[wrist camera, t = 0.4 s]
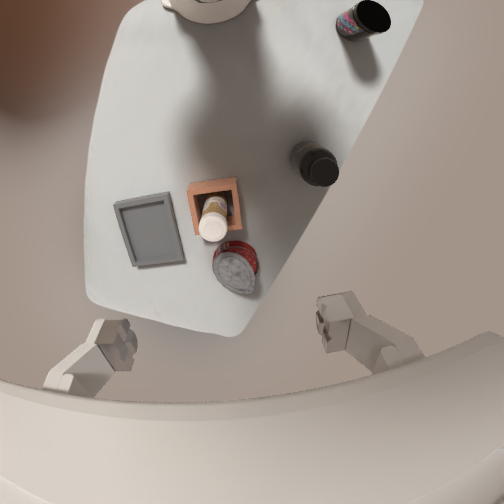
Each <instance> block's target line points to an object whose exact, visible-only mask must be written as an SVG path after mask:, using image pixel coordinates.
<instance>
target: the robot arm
mask: <svg viewBox="0 0 504 504" xmlns="http://www.w3.org/2000/svg"><path fill="white" fill-rule="evenodd" d="M250 1H251V0H162V1H161V2H162V5H163V6H164V7H166V8H170V9H173V10H176V11H177V12H178V13H179V14H181V15H182V16H183V17H185V18H186V19H188V20H190V21H193V22H197V23H205V24H211V23H219V22H223V21H226V20H229V19H231V18H233V17H235V16H237V15H238V14H239V13H241V12H242V11H243V10H244V9H245V8H246V6H247V5H248V4H249V2H250ZM317 307H318V311H317V312H316V324H317V329H318V332H319V334H320V335H322V343H323V346H324V349H325V352H326V353H331V352H336V351H341V350H346V352H348V353H349V354H350V355H351V356H353V357H354V358H355V359H356V360H358V361H359V362H360V363H361V364H363V365H364V366H365V367H366V368H368V369H369V370H370V371H371V372H373V373H372V375H370V376H366V377H363V378H359V379H355V380H351V381H347V382H343V383H339V384H334V385H330V386H325V387H320V388H315V389H310V390H305V391H299V392H293V393H287V394H281V395H273V396H266V397H258V398H249V399H239V400H227V401H211V402H178V403H169V402H168V403H167V402H135V401H119V400H107V399H98V398H94V397H95V396H96V394H97V393H98V392H99V391H100V390H101V388H102V387H103V386H104V385H105V384H106V382H107V381H108V380H109V379H110V378H111V376H112V375H113V374H114V373H115V371H131V369H132V365H133V362H134V359H133V357H132V356H133V354H135V353H136V351H137V338H136V335H135V333H134V332H133V331H132V330H131V329H129V327H130V323H129V321H128V320H127V319H125V318H116V319H115V318H113V319H112V318H111V319H97V320H96V321H95V323H94V325H93V327H92V329H91V331H90V333H89V335H88V338H87V340H86V342H85V344H81V345H80V346H79V347H78V348H77V349H75V350H74V351H73V352H72V353H70V354H69V355H68V356H67V357H66V358H64V359H63V360H62V361H61V362H60V363H58V364H57V365H56V366H55V367H54V368H52V369H51V370H50V371H49V373H48V376H47V378H46V380H45V383H44V385H43V387H42V389H37V388H32V387H28V386H24V385H20V384H16V383H12V382H8V381H5V380H2V379H0V504H504V337H503V336H501V335H499V334H496V333H494V332H491V331H487V332H484V333H481V334H479V335H477V336H475V337H473V338H471V339H469V340H467V341H464V342H462V343H460V344H458V345H455V346H453V347H451V348H448V349H446V350H444V351H441V352H439V353H436V354H434V355H431V356H428V357H426V358H425V356H424V355H423V353H422V351H421V349H420V348H419V346H418V345H417V343H416V341H415V340H414V338H413V337H411V336H409V335H407V334H405V333H403V332H401V331H399V330H398V329H396V328H394V327H392V326H390V325H388V324H386V323H385V322H383V321H381V320H379V319H377V318H375V317H373V316H371V315H366V313H365V311H364V310H363V308H362V306H361V304H360V303H359V301H358V299H357V297H356V296H355V294H354V293H353V292H352V291H348V292H344V293H339V294H334V295H328V296H322V297H318V298H317Z"/></svg>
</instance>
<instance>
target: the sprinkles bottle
mask: <svg viewBox="0 0 504 504" xmlns="http://www.w3.org/2000/svg"><path fill="white" fill-rule="evenodd" d="M227 203H228V201H227V198H226V196H225V194H224V193H222V192H219V191H218V192H211V193H209V194H208V195H207V197H206V199H205V204H204V208H203V213H202V218H201V220H200V222H199V233H200V235H201V236H202V238H203V239H205V240H207V241H210V242H216V241H219V240H221V239H223V238H224V236H225V235H226V233H227V221H226V216H227Z"/></svg>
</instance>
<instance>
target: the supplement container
mask: <svg viewBox="0 0 504 504" xmlns="http://www.w3.org/2000/svg"><path fill="white" fill-rule="evenodd" d="M390 25H391V19H390V16H389V14H388V12H387V11H386V9H385V8H384V7H383V6H381V5H380V4H379V3H377V2H375V1H371V0H364V1H361V2H359V3H358V4H356V5H355V6H353V7H352V8H350V9H349V10H347V11H346V12H344V13H343V14H341V15H340V16H339V17H338V18H337V20H336V27H337V30H338V32H339V33H340V34H341V35H342V36H343V37H344V38H346V39H348V40H351V41H360V40H363V39H365V38H368V37H371V36H374V35H376V34H380V33H383V32H385V31H387V30H388V29H389V28H390Z"/></svg>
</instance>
